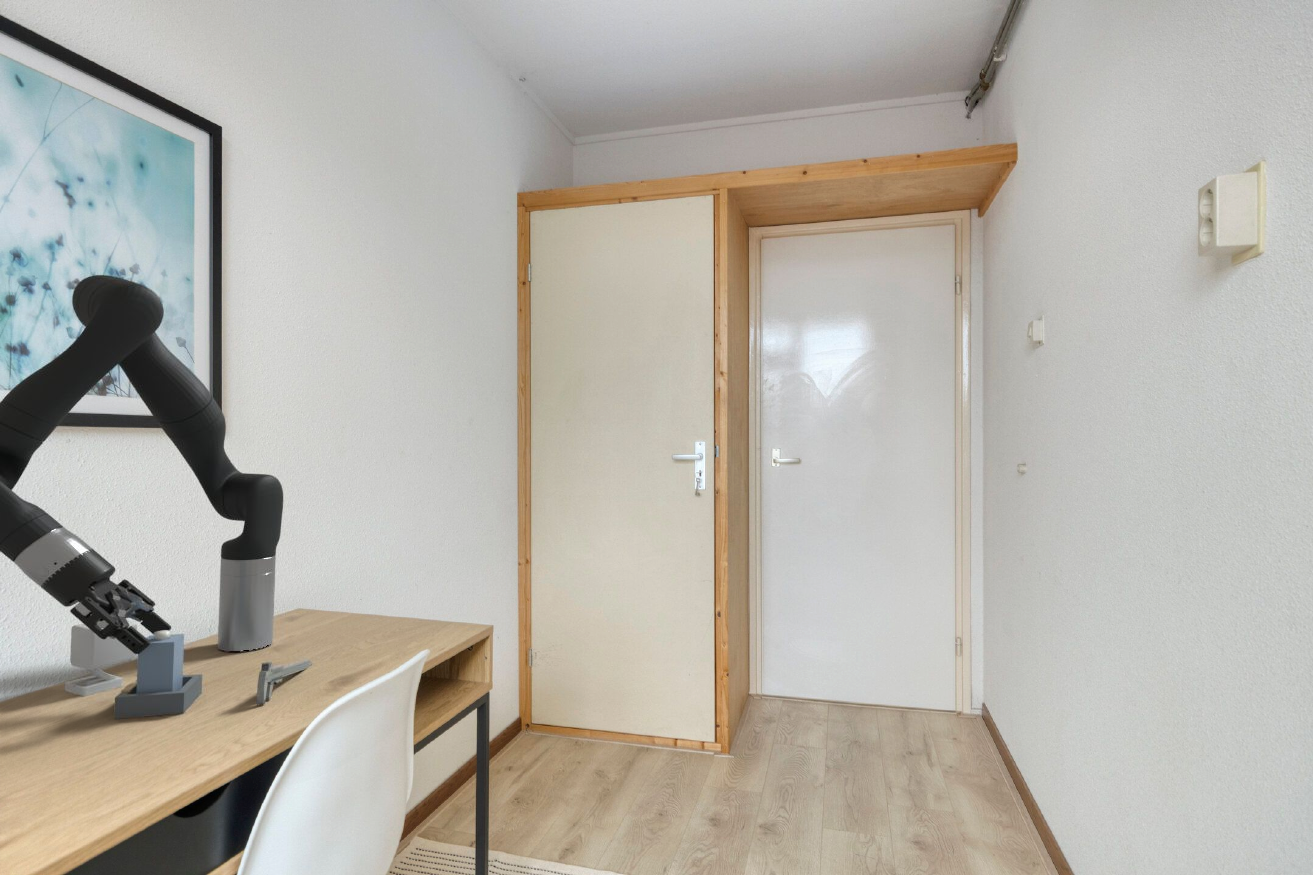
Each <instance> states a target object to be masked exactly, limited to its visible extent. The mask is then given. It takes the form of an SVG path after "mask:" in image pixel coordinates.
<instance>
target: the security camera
mask: <svg viewBox="0 0 1313 875" xmlns="http://www.w3.org/2000/svg"><path fill="white" fill-rule="evenodd" d="M126 620H127V621H128V623H129V627H130V626H132V627H133V628H135V629H136V630H137V631H138V625H137V621H135V620H130V619H126ZM117 622H118V621H117ZM129 627H128V628H129ZM101 629H103V628H101ZM70 634H71V636H70V637H71V638H70V656H69V657H70V659H69V660H70V665H71V666H72V667H77V668H80V669H83V670H85V671H86V672H88V673H90V674H91V675H90V676H89V675H88V676H85V677H81V678H77V679H73V680H69V681H65V682H64V691H65V692H68V693H71V694H75V695H78V696H81V697H87V696H91V695H94V694H97V693H98V694H99V693H103V692H105V691H110V690H114V689H116V688H121V687H123V685H124V684H123V682H124V681H123V680H124V677H121V676H117V675H114V674H111V673H107V672H105V670H103V669H101V668H102V667H106V666H110V665H115V664H119V663H124V662H127V661H131V662H132V661H135V659H136V658H137V657H136V655H137V654H134V653H133V652H132V651H131V650H129V649H128V648H127V647H126V646H125V645H123V644H122V643H121V642H120V641H118V640H117V639H116V638H115V639H112V638H110V637H107V638H106V639H101V638H100V637H99V636H97V635H96V634H95V633H94V632H93V631H92V630H90V629H89V628H88V627H87V626H86V625H85V624H83V623H80V624H75V625H73V626H71V632H70Z"/></svg>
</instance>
